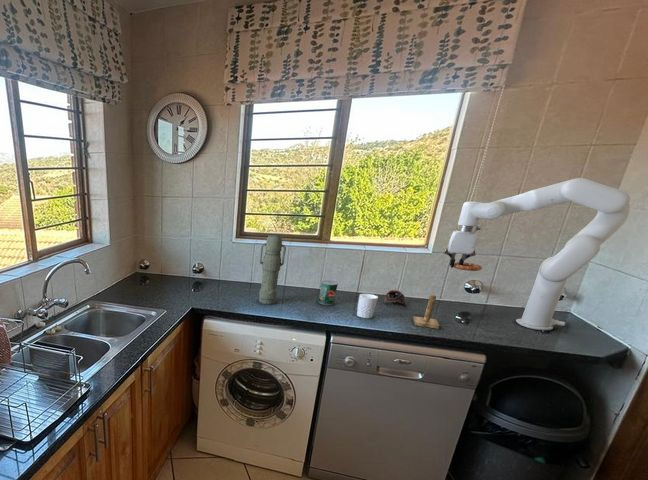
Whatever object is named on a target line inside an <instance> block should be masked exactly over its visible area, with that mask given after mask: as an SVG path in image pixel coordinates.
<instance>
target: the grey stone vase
mask: <svg viewBox="0 0 648 480" xmlns="http://www.w3.org/2000/svg"><path fill="white" fill-rule="evenodd" d="M264 246H265V253H264V256H263V251H264ZM282 248H283V253H281V252H282ZM260 251H261V252H260V258H259V264H260V265H262V267H261V268H262V276H261V285H260V288H259V292H258V303H260V304H263V305H276V304H277V303H276V302H277V301H276V300H277V297H278V289H277V288H278V281H279V280H278V279H279V272H280V271H281V267H282V266H284V264H285V258H286V251H287V247H286V245H285V244H283V238H282V235H281V234H278V233H271V234H268V236H267V238H266V243H263V244H262V245H261V250H260ZM281 255H282V257H281Z"/></svg>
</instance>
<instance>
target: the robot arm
mask: <svg viewBox="0 0 648 480" xmlns="http://www.w3.org/2000/svg"><path fill="white" fill-rule="evenodd" d="M569 202H573V203H575V204H578V205H581V206H583V207H587V208H590V209H592V210H595V211H597V213H596V215H595V217H594V218H593V219H592V220H591V221H589V223H588V224H586V225H585V226H584V227H583V228H582V229H581V230H580V231H578V232H577V233H576V234H575V235H573V236H572V237H571V238H570V239H569V240H568V241H567V242H566V243H565V245H564V247H563V248H561V250H560V251H559V252H557V253H556V254H555V255H553V256H550V257H546V259H544V260H543V261H542V263H541V264H540V266H539V268H538V272H537V275H536V278H535V281H534V284H533V285H532V289H531V291H530V294H529V297H528V299H527V302H526V305H525V308H524V311H523V314H522V316H521V317H520V318H517V319H515V322H516V323H517V324H518V325H519V326H521V327H524V328H528V329H532V330H538V331H552V330H553V329H554V326H559V327H564V326H565V325H566V322H565V321H561V320H559V319H555V318H553V317H554V313H555V312H556V309H557V306H558V304H559V301H560V299H561V296H562V295H563V292H564V289H565V287H566V284H567V281H568V280H569V278H571V277H572V276H574V275H575V274H577V272H579V271H580V270H581V269H582V268H583V267H585V266H586V265H587V264H589V262H591V261H592V260H593V259H594V258H595V257H596V256H598V254H599V252H600V251H601V245H603V244H604V243H605V242H606V241H607V240H609V239H610V238H611V237H612V236H613V235H614V234H615V233H616V232H617V231H619V230H620V228H622V227H623V225H624V224H625V223H626V222H627V220H628V217H629V215H630V210H631V207H630V206H631V205H630V202H631V196H630V194H629V192H627V191H626V190H623V189H619V188H616V187H613V186H609V185H605V184H602V183H600V182H596V181H595V180H591V179H588V178H585V177H576V178H572V179H568V180H564V181H561V182H557V183H553V184H550V185H546V186H543V187H538V188H534V189H531V190H528V191H525V192H523V193H520V194H517V195H512V196H509V197H506V198H501V199H497V200H494V201H490V202H481V201H465V202H464V203H463V204H462V207H461V211H460V214H459V218H458V222H457V225H456V229H455V230H453V232H452V233H451V235H450V238H449V240H448V241H449V242H448V244H447V247H446V248H445V249H444V250H443V254H444V255H446V256H448V257H449V258H450V260H449V261H450V262H449V267H450V268H451V269H454V263H456V255H457V254H461V258H460V259H459V261H458V262H459V265H463V263H465V261H466V260H467V259H469V258H470V257H474V256H476V254H477V253H476V251H475V249H476V245H477V238H478V231H481V229H482V227H480V226H479V223H480V219H482V220H489V221H492V220H493V221H494V220H496V219H499V218H500V217H504V216H508V215H511V214H515V213H519V212H526V211H527V212H528V211H536V210H541V209H545V208H549V207H553V206H556V205H561V204H565V203H569Z"/></svg>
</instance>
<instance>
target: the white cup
mask: <svg viewBox="0 0 648 480" xmlns="http://www.w3.org/2000/svg"><path fill="white" fill-rule="evenodd" d="M378 300H379V296H378V295H375V294H371V293H360V294H359V295H358V301H357V308H356V316H357V317H358V318H363V319H372V318H373V316H374V313H375V310H376V306H377V303H378Z"/></svg>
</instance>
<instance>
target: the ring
mask: <svg viewBox="0 0 648 480" xmlns="http://www.w3.org/2000/svg"><path fill="white" fill-rule="evenodd" d="M453 269H457V270H461V271H469V272H479V271H482V270H483V266H482V265H480V264H477V263H473V262H464V263H463V265H459V261H458V262H455V263H454V267H453Z"/></svg>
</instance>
